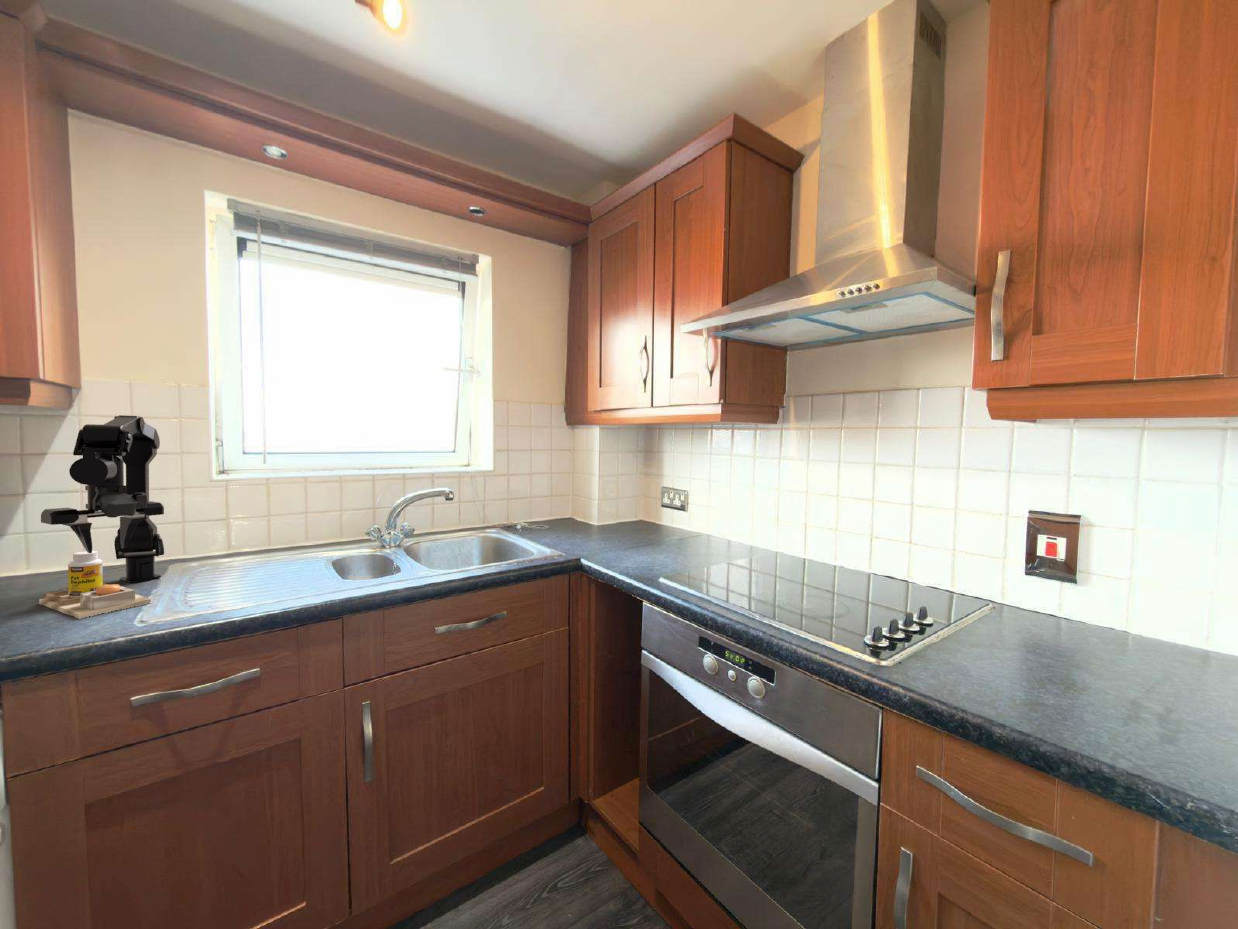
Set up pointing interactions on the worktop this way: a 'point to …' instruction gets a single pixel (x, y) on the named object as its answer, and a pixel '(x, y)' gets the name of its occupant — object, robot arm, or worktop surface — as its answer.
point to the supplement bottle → (84, 573)
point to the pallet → (92, 602)
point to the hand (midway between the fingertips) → (107, 550)
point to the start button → (107, 589)
